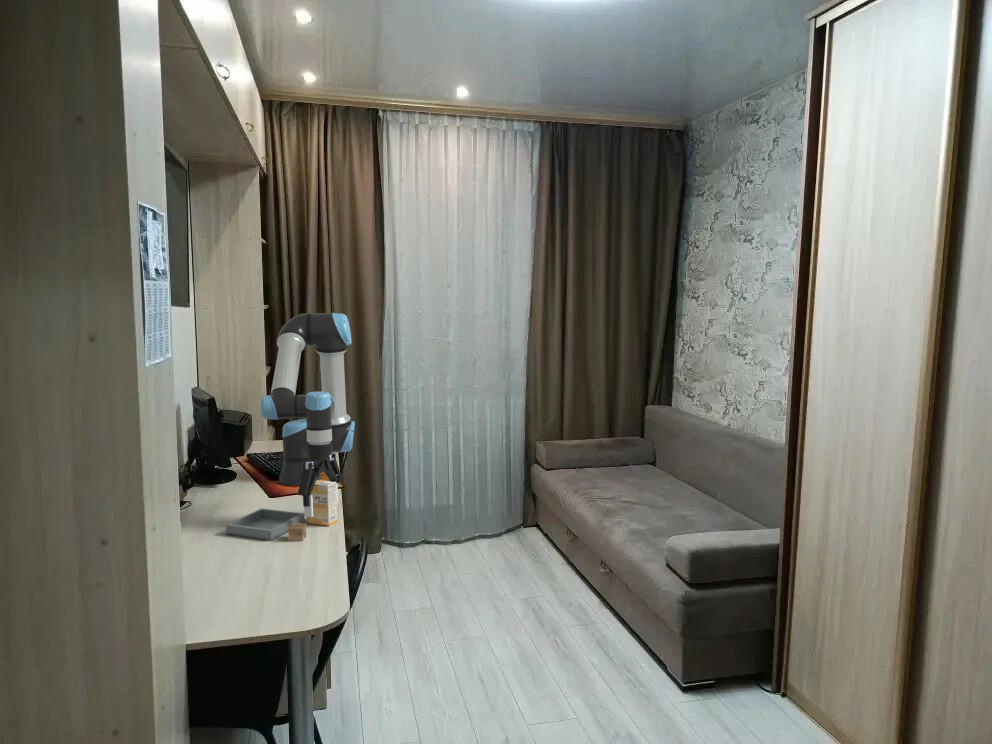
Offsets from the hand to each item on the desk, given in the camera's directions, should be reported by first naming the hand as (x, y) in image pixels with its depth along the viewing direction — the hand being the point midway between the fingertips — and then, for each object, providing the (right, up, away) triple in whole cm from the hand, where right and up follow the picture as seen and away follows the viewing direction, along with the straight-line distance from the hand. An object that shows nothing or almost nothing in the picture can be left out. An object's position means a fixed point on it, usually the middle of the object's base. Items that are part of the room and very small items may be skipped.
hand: (321, 509), depth 204 cm
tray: (-16, -5, -4) cm, 17 cm away
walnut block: (-4, -6, -13) cm, 14 cm away
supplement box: (0, -4, +1) cm, 5 cm away
